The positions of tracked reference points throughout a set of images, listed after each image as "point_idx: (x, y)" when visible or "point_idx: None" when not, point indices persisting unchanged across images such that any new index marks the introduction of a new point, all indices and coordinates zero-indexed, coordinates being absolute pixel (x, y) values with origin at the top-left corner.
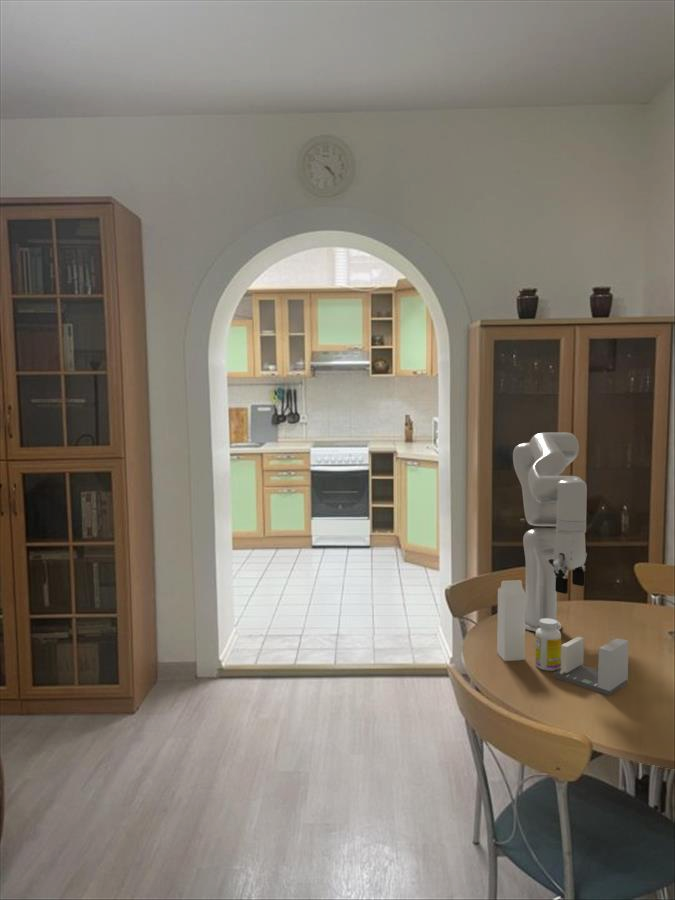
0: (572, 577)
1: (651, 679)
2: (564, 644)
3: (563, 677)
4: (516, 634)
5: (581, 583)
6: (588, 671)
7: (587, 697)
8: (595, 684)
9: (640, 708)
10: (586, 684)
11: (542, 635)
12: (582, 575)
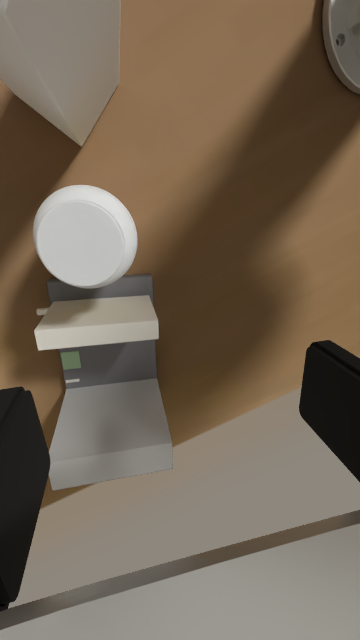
0: (345, 371)
1: (209, 406)
2: (50, 333)
3: None
4: (29, 93)
5: (310, 416)
6: None
7: (23, 385)
8: (72, 380)
9: None
10: (62, 364)
11: (34, 242)
12: (356, 476)
